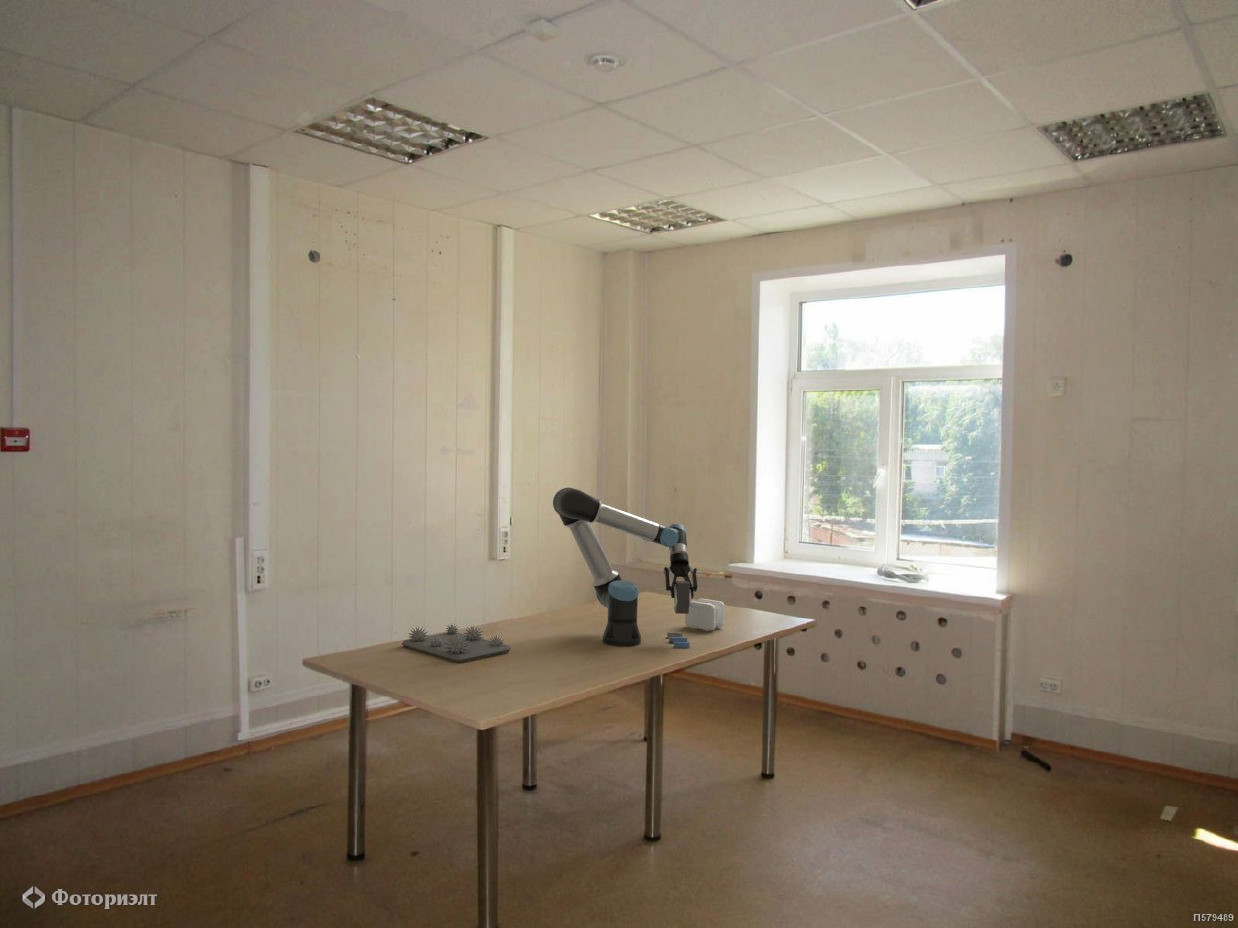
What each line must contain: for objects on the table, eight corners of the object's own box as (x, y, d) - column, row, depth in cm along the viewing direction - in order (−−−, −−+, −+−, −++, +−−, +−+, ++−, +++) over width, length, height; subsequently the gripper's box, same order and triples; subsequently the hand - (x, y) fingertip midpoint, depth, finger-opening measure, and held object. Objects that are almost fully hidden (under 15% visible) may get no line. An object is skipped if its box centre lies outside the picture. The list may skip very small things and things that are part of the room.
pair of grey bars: (669, 642, 329) (669, 637, 329) (667, 637, 338) (667, 632, 338) (684, 642, 329) (684, 637, 329) (682, 637, 338) (682, 632, 338)
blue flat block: (674, 647, 320) (674, 642, 320) (671, 642, 329) (672, 637, 329) (689, 647, 320) (689, 642, 320) (686, 642, 329) (687, 637, 329)
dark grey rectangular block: (675, 613, 325) (677, 583, 325) (674, 610, 330) (675, 581, 330) (688, 613, 326) (689, 583, 325) (686, 611, 331) (688, 581, 330)
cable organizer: (726, 629, 357) (726, 602, 357) (712, 632, 349) (713, 605, 349) (697, 623, 367) (698, 597, 367) (683, 627, 359) (684, 600, 359)
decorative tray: (512, 654, 305) (513, 627, 305) (455, 666, 285) (456, 637, 285) (454, 637, 328) (454, 612, 328) (397, 648, 308) (398, 621, 308)
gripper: (699, 563, 344) (704, 610, 328) (656, 561, 342) (659, 609, 326) (702, 552, 338) (707, 599, 322) (658, 550, 337) (661, 598, 321)
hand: (683, 604), depth 324 cm, fingers closed on dark grey rectangular block, 5 cm apart
